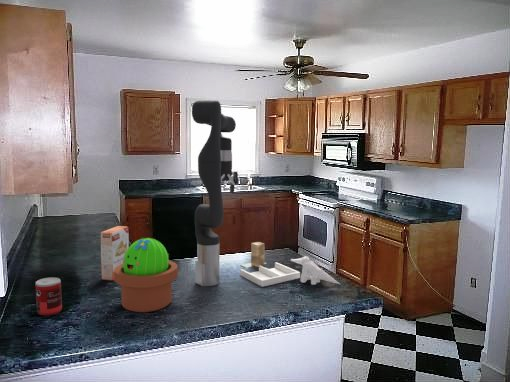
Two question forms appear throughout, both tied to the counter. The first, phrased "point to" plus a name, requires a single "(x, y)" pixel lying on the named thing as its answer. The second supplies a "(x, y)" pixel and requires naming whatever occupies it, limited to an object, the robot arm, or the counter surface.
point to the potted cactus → (146, 276)
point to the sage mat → (248, 265)
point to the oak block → (257, 254)
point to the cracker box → (113, 249)
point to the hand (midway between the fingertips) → (224, 193)
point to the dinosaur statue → (312, 271)
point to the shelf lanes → (271, 275)
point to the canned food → (48, 296)
